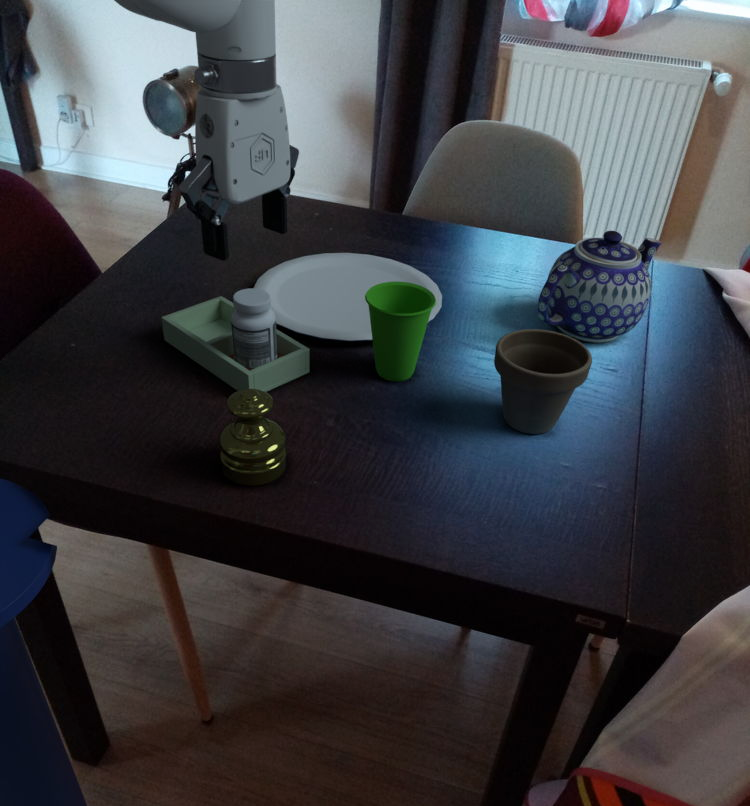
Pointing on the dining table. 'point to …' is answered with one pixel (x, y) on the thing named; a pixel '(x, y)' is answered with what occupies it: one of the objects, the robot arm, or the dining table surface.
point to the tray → (230, 347)
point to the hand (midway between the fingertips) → (246, 243)
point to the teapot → (598, 288)
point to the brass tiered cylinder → (252, 440)
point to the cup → (398, 326)
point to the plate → (334, 293)
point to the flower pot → (539, 376)
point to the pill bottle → (253, 328)
